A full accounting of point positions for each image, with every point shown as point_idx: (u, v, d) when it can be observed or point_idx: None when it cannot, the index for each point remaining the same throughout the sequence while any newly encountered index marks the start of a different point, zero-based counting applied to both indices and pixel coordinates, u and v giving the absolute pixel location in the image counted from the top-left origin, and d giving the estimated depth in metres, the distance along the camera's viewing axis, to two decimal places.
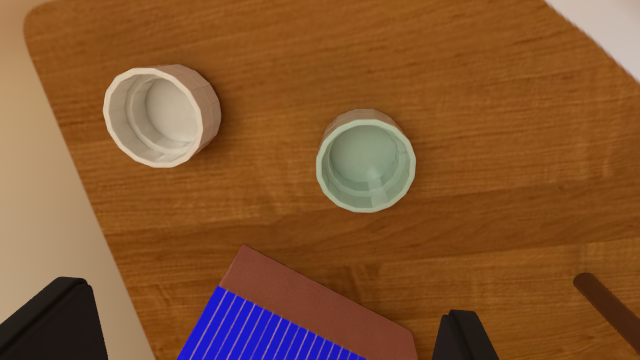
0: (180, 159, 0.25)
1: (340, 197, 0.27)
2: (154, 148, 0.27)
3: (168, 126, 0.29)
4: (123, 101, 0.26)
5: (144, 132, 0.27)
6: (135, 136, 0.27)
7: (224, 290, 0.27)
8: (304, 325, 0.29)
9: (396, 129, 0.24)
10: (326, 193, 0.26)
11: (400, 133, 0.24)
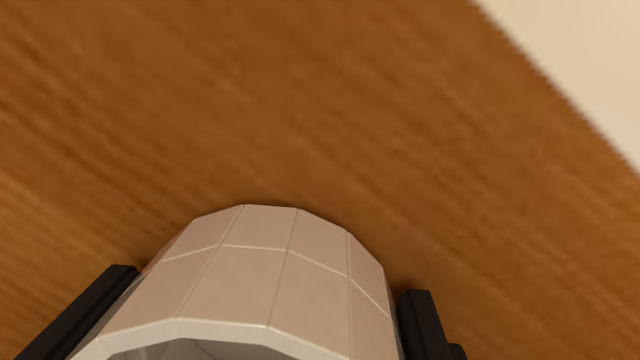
0: None
1: None
2: None
3: None
4: None
5: None
6: None
7: None
8: None
9: None
10: None
11: None
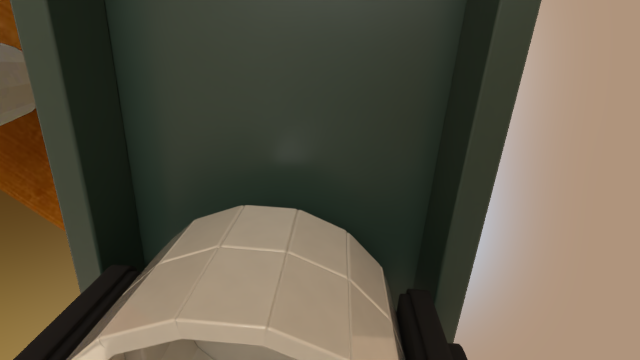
0: None
1: None
2: None
3: None
4: None
5: None
6: None
7: None
8: None
9: None
10: None
11: None
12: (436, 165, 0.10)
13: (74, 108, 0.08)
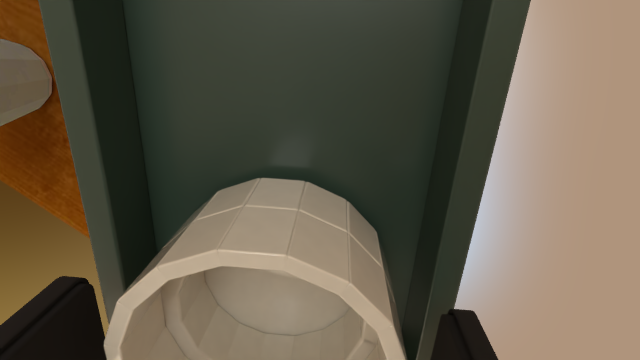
0: None
1: None
2: (174, 332, 0.10)
3: (232, 275, 0.12)
4: None
5: (184, 285, 0.10)
6: None
7: None
8: None
9: None
10: None
11: None
12: (434, 155, 0.10)
13: (95, 99, 0.09)
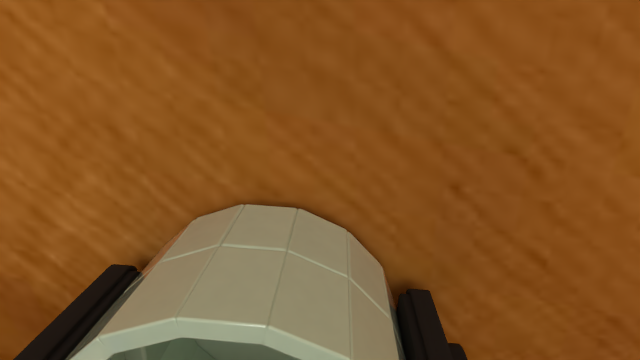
0: None
1: None
2: None
3: None
4: None
5: None
6: None
7: None
8: None
9: None
10: None
11: None
12: None
13: None
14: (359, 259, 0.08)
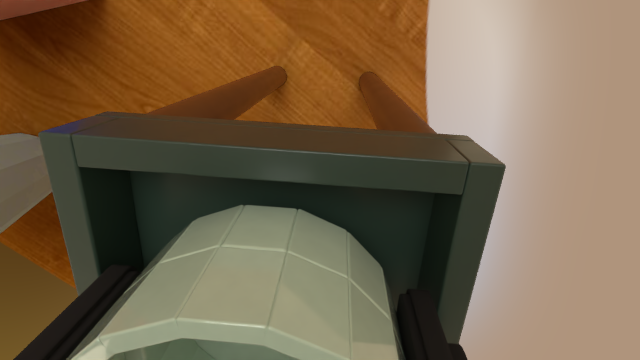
0: None
1: None
2: None
3: None
4: None
5: None
6: None
7: None
8: None
9: None
10: None
11: None
12: None
13: None
14: (359, 260, 0.08)
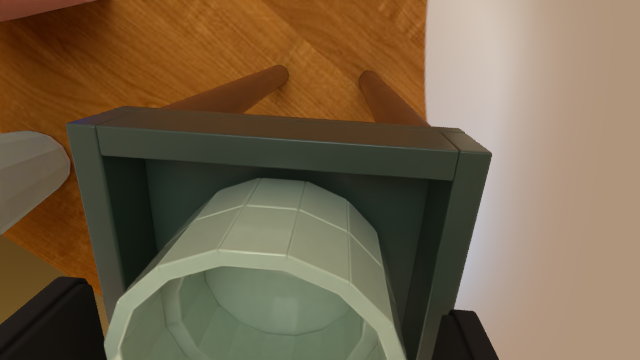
0: None
1: (145, 358, 0.09)
2: None
3: None
4: None
5: None
6: None
7: None
8: None
9: None
10: (109, 348, 0.08)
11: None
12: None
13: None
14: (357, 222, 0.10)
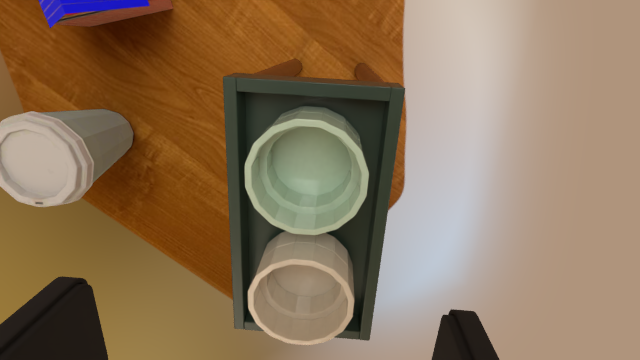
0: (284, 338, 0.24)
1: (254, 182, 0.21)
2: (263, 291, 0.25)
3: (284, 268, 0.27)
4: None
5: None
6: None
7: None
8: None
9: (367, 175, 0.19)
10: (246, 166, 0.20)
11: (366, 182, 0.20)
12: (370, 219, 0.25)
13: (240, 203, 0.24)
14: (348, 124, 0.22)
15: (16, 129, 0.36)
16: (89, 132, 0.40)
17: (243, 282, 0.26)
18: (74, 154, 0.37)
